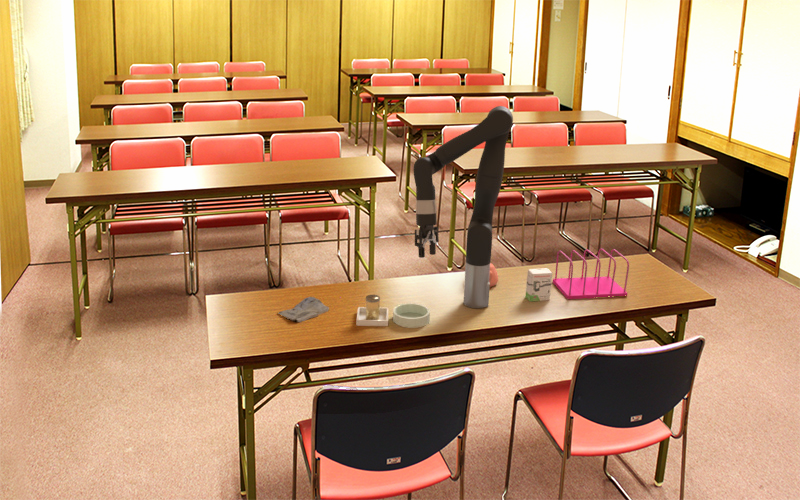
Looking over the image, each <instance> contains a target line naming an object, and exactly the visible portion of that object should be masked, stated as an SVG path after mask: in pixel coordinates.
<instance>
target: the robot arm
mask: <svg viewBox="0 0 800 500" xmlns="http://www.w3.org/2000/svg"><path fill="white" fill-rule="evenodd" d="M513 121H514V116H513V114H512V112H511V110H510V109H509V108H507V107H506V106H503V105H498V106H495V107H492V109H491V110H489V112H488V114H487V116H486V117H485V118H484V119H483V120H482V121H481V122H479V123H478V124H476V126H474V127H472V128H471V129H469V130H467V131H466V132H463V133H462V134H461V133H460V134H459V135H457V136H455V137H453V138H452V139H450V140H448V141H446V142H445V143H443V144H442V145H440V146H438V147H437V148H436V149H435V151H433V152H431V153H430V154H428V155H427V156H425V157H419V158H417V160H415V162H414V164H413V177H414V183H415V188H416V190H415V191H416V192H415V195H416V196H415V198H416V199H415V200H416V202H415V223H416V226H419V229H414V246H415V247H417V248H418V249H417V251H418V257H419V258H420V259H421V258H422V259H423V258H425V257H426V254H425V253H426V250H425V248H426V247H425V245H426V243H429V245H428V246H429V255H431V256H433V255H436V253H437V251H436V248H437V247H436V245H437V243H439V241H440V239H439V235H440V234H439V227H438V226H436V225H437V223H438V222H437V203H436V202H437V201H436V187H435V185H434V183H433V176H434V175H435V174H436V173H438V172H440V170H442V169H443V168H444V167H445V166H448V165H449V164H451V163H453V162H454V161H456V160H458V159H459V158H461V157H462V156H464V155H466V154H467V153H468V152H470V151H471V150H473V149H474V148H476V147H478V146H480V145H482V144H483V143H484V147H483V151H482V153H481V157H480V159H479V164H478V168H477V172H476V173H477V174H476V178H475V179H476V180H475V185H474V187H475V188H474V205H473V208H472V209H473V211H472V214H471V218H470V221H469V224H468V226H467V232H466V245H465V247H466V250H465V268H464V269H465V270H464V284H463V285H464V291H463V305H465V306H466V307H468V308H471V309H482V308H488V307H489V305H490V304H489V303H490V288H491V287H490V283H489V275H490V263H491V260H492V259H491V258H492V247H493V245H492V244H493V218H494V217H493V216H494V210H495V205H496V203H497V200H498V197H499V194H500V192H501V191H500V190H501V187H502V181H503V176H504V171H505V157H506V155H505V154H506V146H507V145H506V144H507V141H508V138H509V133H510V130H511V129H512V127H513Z"/></svg>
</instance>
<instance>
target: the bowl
mask: <svg viewBox="0 0 800 500" xmlns="http://www.w3.org/2000/svg"><path fill="white" fill-rule="evenodd" d="M392 311H393V312H392V322H393V323H394V324H396V325H398V326H399V327H403V328H409V329H415V328H417V329H418V328H422V327H425V326H427V324H429V323H430V316H431V315H430V314H431V310H430V308H428V307H427V306H426V305H424V304H421V303H415V302H414V303H411V302H408V303H401V304H399V305H395V307H393V309H392Z"/></svg>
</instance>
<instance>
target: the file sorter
mask: <svg viewBox="0 0 800 500" xmlns="http://www.w3.org/2000/svg"><path fill="white" fill-rule="evenodd" d="M583 251H584V252H583V256H582V255H581V254H579V252H577V251H576V250H575V249H573V250H571V252H570V257H569V256H568V255H566V253H564V252H563V251H562V250H558V251H557V253H556V265H555V276H554V278H552V283H553V284H554V287H555V286H556V287H557V289H558V290H559V291H560V292H561V294H563V296H564V297H565V298H566V299H567V300H579V299H580V300H581V299H583V298H587V299H597V298H596V297H608V296H610V297H609V298H613V297H612V296H625V295H626V296H627V297H628V292H627V291H626V289H627V284H628V277H629V271H630V262H629V260H628V259H627V257H626V256H624V255H623V254H622V253H620V252H619V251H618V250H616V249H615V248H613V249H611V251H610V253H609V252H607V251H606V250H605V249H604V248H599V250H598V253H597V255H596V254H594V253H593V252H592V251H591V250H589V249H587V248H586V249H585V250H583ZM601 251H602V252H604V254H606V255H607V256H608V257H609V263H608V271H607V276H601V259H600V254H601ZM613 251H614V252H615V253H617V254H618V255H619V256H620V257H622V259H624V260H625V261H626V263H627V267H626V274H625V280H624V287H622V286H621V285H619V283H618V282H616V281H615V277H616V276H615V275H616V269H617V262H616V258H614V257H613ZM573 253H575V254H576V255H577V256H578V257H579V258H580V259H581V260H582V267H581V277H580V276H579V277H573V273H574V263H573ZM586 253H589V254H590V255H592V256H593V257H594V258H595V259H596V265H595V272H594V276H587V273H588V272H587V271H588V263H587V260H586ZM560 254H561V255H563V256H564V257H565V258H566V259H567V260H568V261H569V266H568V267H569V268H568V277H564V278H563V277H559V278H558V266H559V256H560ZM612 261H613V263H614V267H613V273H612V277H611V276H610V272H611V264H612ZM597 273H598V274H597ZM594 297H595V298H594Z"/></svg>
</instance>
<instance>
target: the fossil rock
mask: <svg viewBox="0 0 800 500" xmlns="http://www.w3.org/2000/svg"><path fill="white" fill-rule="evenodd" d="M329 309H330V307H329V306H327V305H325V304H324V303H323V302H322V300H320V299H319V298H316V297H314V296H308V297H306V298H303V300H301V301H300V302H298V303H297V304H296V305H295V306H294V307H292V308H291V309H284V310H281V311H278V312H279V313H278V312H277V313H278V314H280V315H282V316H284V317H286V318H287V320H289V319H290V320H289V321H292V322H297V323H298V322H299V323H303V322H305V321H307V320H310V319H313V318H316V317H319V316H320V315H322V314H325V313H327V312H329ZM278 314H277V315H278ZM280 315H279V316H280ZM282 316H281V317H282ZM284 317H283V318H284ZM286 318H285V319H286ZM302 321H303V322H302Z"/></svg>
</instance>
